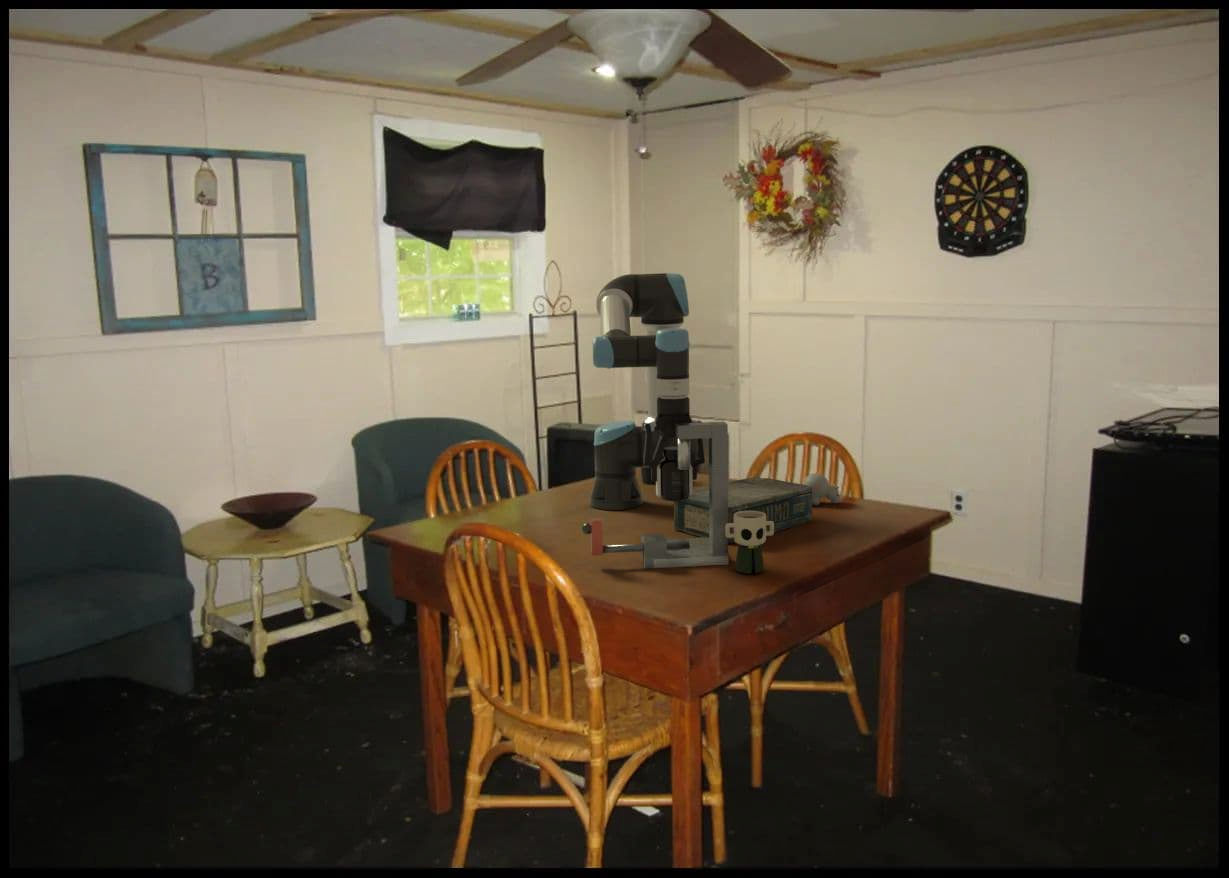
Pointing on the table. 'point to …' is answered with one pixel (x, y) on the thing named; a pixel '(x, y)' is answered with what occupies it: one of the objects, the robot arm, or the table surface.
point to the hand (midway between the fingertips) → (674, 494)
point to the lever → (599, 549)
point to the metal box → (748, 505)
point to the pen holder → (646, 475)
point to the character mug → (749, 539)
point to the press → (716, 544)
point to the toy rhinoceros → (822, 489)
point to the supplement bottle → (673, 477)
